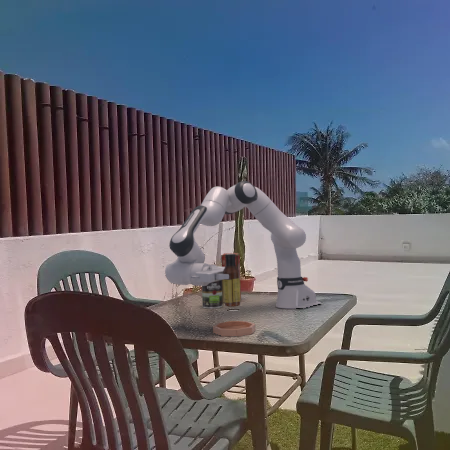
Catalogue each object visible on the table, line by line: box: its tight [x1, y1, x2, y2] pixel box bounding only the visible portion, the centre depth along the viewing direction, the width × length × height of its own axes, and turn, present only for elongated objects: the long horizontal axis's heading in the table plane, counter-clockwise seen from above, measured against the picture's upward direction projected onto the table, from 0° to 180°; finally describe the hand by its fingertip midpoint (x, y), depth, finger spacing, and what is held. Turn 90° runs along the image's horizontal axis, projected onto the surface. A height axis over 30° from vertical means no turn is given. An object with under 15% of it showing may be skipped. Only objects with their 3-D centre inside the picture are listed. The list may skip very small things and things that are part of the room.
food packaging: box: [220, 252, 242, 304], centre depth 256 cm, size 13×9×25 cm
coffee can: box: [201, 280, 224, 310], centre depth 240 cm, size 10×10×14 cm
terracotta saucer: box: [212, 320, 256, 337], centre depth 184 cm, size 15×15×2 cm
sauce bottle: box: [223, 254, 241, 308], centre depth 184 cm, size 7×6×20 cm
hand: (233, 275), depth 184 cm, fingers closed on sauce bottle, 6 cm apart
